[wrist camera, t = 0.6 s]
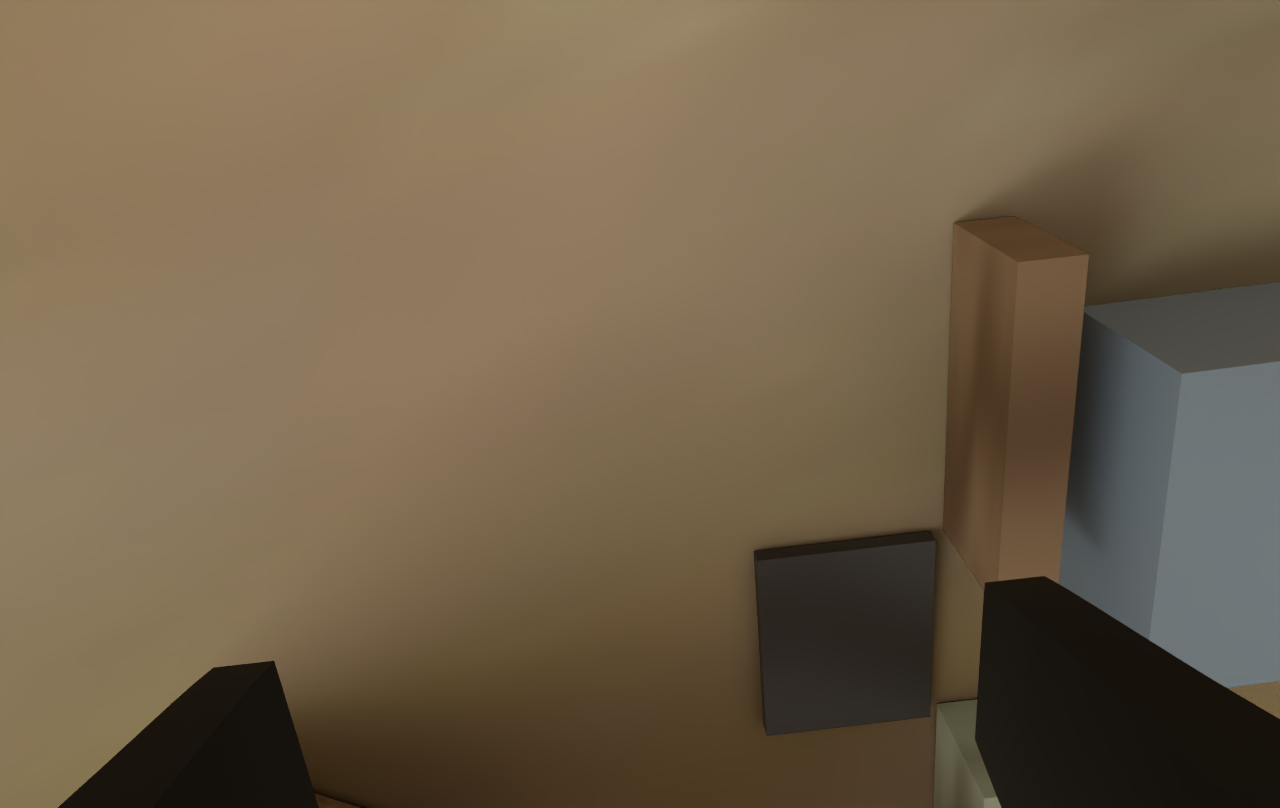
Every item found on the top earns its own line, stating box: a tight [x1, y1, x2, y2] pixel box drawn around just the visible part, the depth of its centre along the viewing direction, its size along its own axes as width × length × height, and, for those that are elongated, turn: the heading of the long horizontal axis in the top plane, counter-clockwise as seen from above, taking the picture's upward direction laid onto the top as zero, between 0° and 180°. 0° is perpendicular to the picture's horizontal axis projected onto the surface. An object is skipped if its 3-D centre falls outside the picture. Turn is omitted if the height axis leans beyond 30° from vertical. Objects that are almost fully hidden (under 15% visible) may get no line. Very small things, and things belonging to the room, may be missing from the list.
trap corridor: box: [754, 216, 1089, 808], centre depth 21 cm, size 18×22×3 cm
